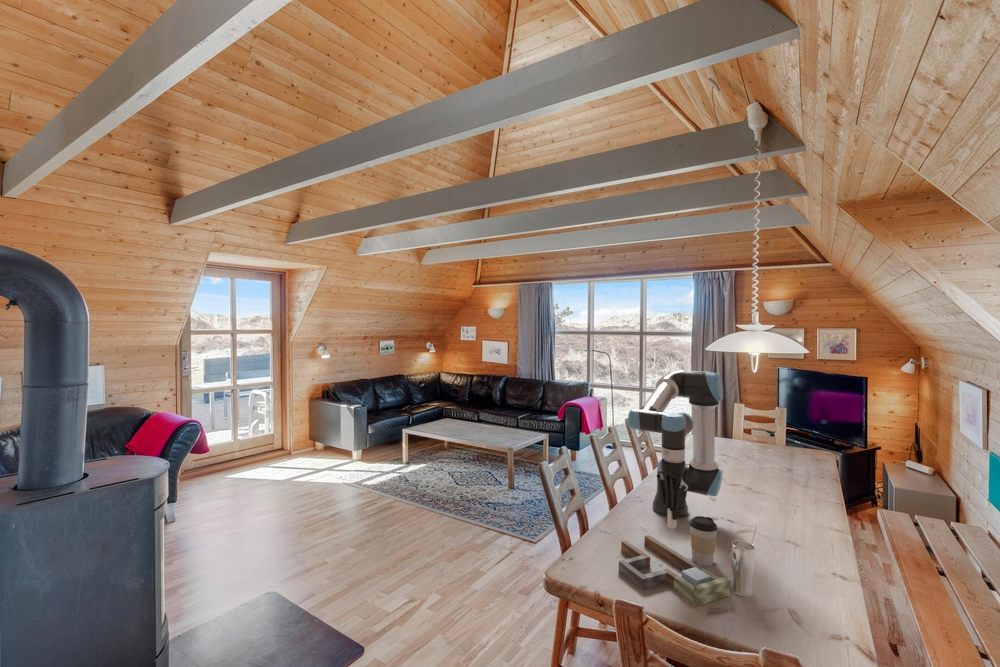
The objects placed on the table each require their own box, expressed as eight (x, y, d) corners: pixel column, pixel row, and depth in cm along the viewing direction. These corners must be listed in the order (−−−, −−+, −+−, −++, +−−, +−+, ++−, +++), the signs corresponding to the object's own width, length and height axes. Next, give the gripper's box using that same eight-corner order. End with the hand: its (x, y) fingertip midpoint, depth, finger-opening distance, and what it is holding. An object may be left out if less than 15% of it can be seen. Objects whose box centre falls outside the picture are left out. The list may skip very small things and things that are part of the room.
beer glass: (746, 585, 149) (747, 539, 149) (759, 598, 142) (760, 550, 142) (725, 585, 149) (726, 540, 149) (737, 598, 142) (738, 550, 142)
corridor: (648, 544, 176) (648, 531, 176) (729, 595, 143) (730, 580, 143) (599, 555, 167) (599, 542, 167) (673, 614, 134) (674, 597, 134)
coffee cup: (700, 568, 159) (701, 525, 159) (683, 555, 168) (684, 515, 167) (722, 565, 162) (723, 523, 161) (704, 552, 170) (705, 512, 170)
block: (694, 581, 151) (695, 567, 151) (710, 591, 146) (710, 576, 146) (681, 586, 149) (681, 571, 149) (696, 596, 143) (696, 580, 143)
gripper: (650, 455, 161) (649, 521, 162) (679, 467, 149) (678, 538, 150) (667, 452, 164) (666, 517, 165) (696, 463, 152) (695, 533, 153)
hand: (671, 527), depth 157 cm, fingers closed
